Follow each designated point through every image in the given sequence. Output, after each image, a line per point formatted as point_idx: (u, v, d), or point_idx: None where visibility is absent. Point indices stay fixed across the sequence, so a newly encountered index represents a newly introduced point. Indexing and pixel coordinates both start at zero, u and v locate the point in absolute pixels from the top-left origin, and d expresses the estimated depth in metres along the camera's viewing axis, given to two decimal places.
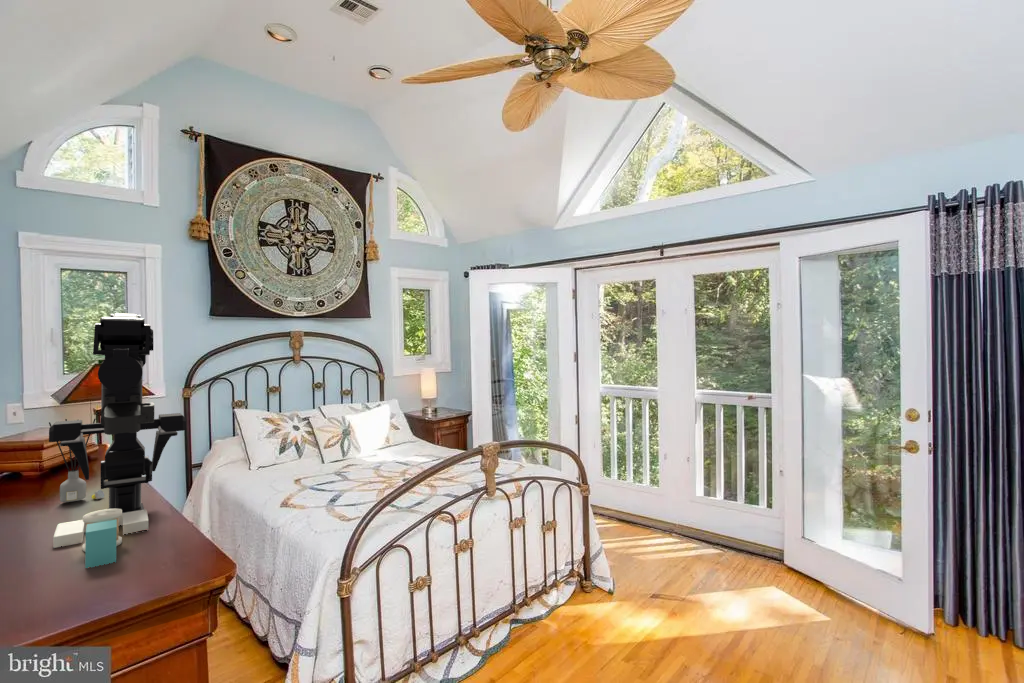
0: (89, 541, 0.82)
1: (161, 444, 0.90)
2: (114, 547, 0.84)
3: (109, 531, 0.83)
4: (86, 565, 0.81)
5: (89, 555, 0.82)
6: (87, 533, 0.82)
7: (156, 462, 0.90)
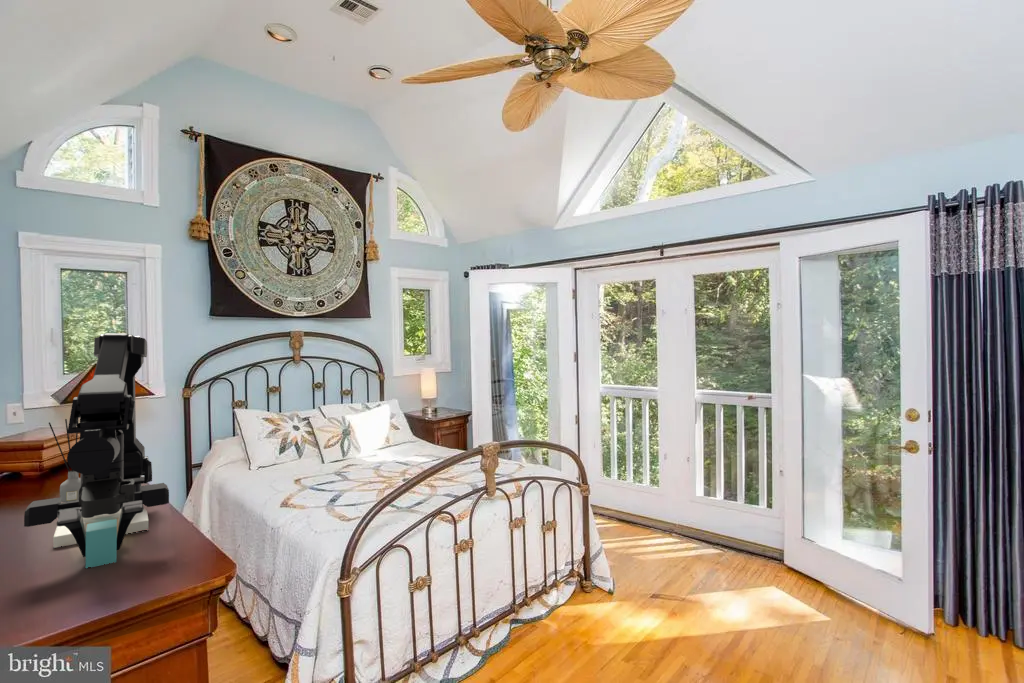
0: (90, 541, 0.82)
1: (125, 522, 0.86)
2: (114, 547, 0.84)
3: (110, 530, 0.83)
4: (86, 565, 0.82)
5: (89, 555, 0.82)
6: (87, 533, 0.82)
7: (120, 541, 0.86)
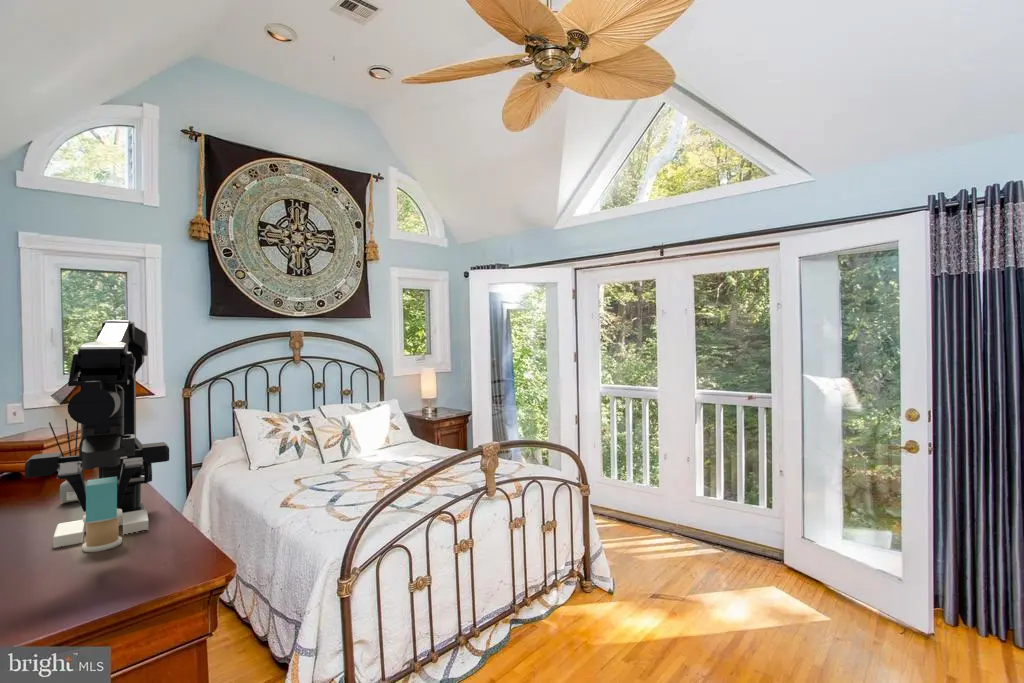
0: (90, 495, 0.82)
1: (126, 478, 0.86)
2: (115, 502, 0.84)
3: (110, 485, 0.83)
4: (87, 519, 0.82)
5: (90, 509, 0.82)
6: (88, 487, 0.82)
7: (121, 497, 0.86)
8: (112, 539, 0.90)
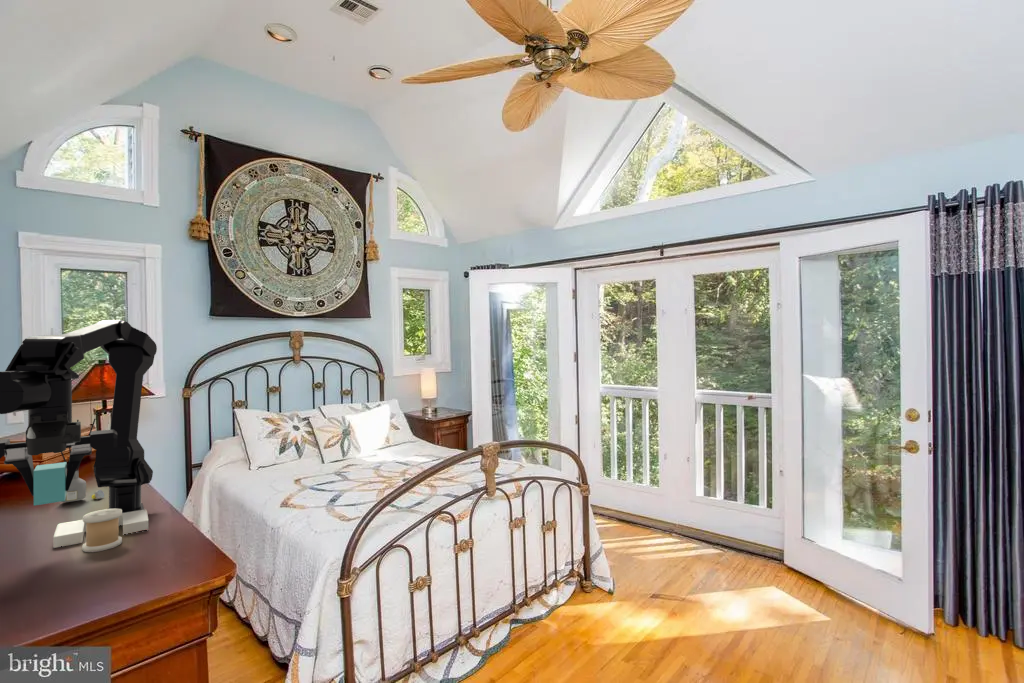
0: (37, 480, 0.85)
1: (74, 464, 0.89)
2: (62, 486, 0.87)
3: (58, 470, 0.87)
4: (34, 502, 0.85)
5: (37, 493, 0.85)
6: (35, 472, 0.85)
7: (69, 482, 0.89)
8: (112, 539, 0.90)
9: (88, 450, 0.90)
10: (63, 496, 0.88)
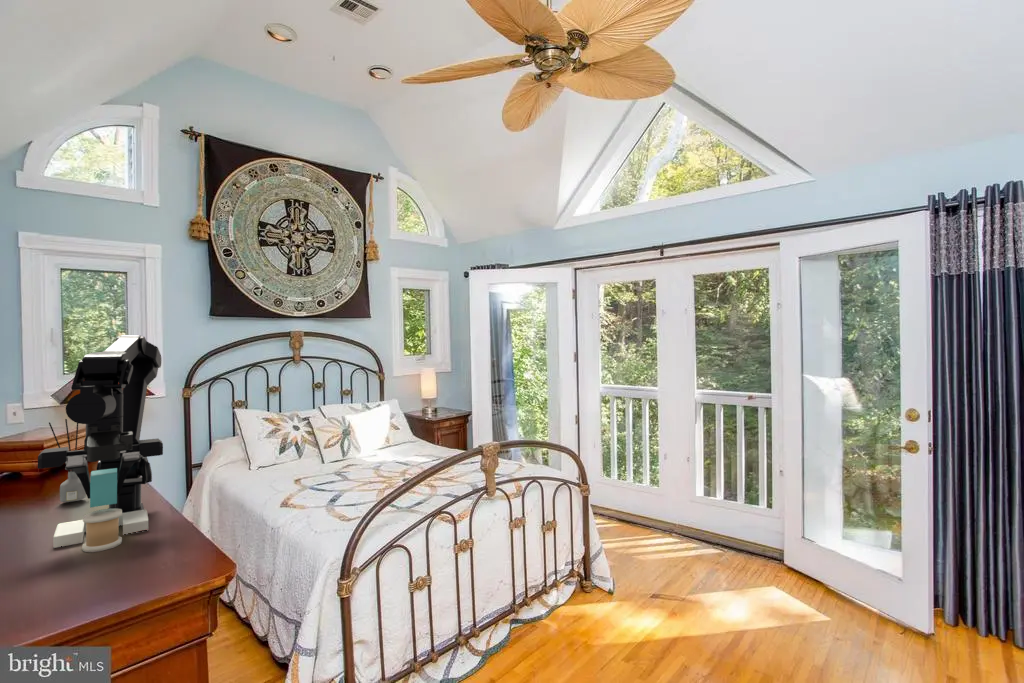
0: (94, 484, 0.94)
1: (125, 469, 0.98)
2: (115, 490, 0.96)
3: (111, 475, 0.96)
4: (91, 504, 0.94)
5: (93, 496, 0.94)
6: (92, 477, 0.94)
7: (120, 486, 0.98)
8: (112, 539, 0.90)
9: (137, 457, 0.99)
10: (115, 499, 0.96)
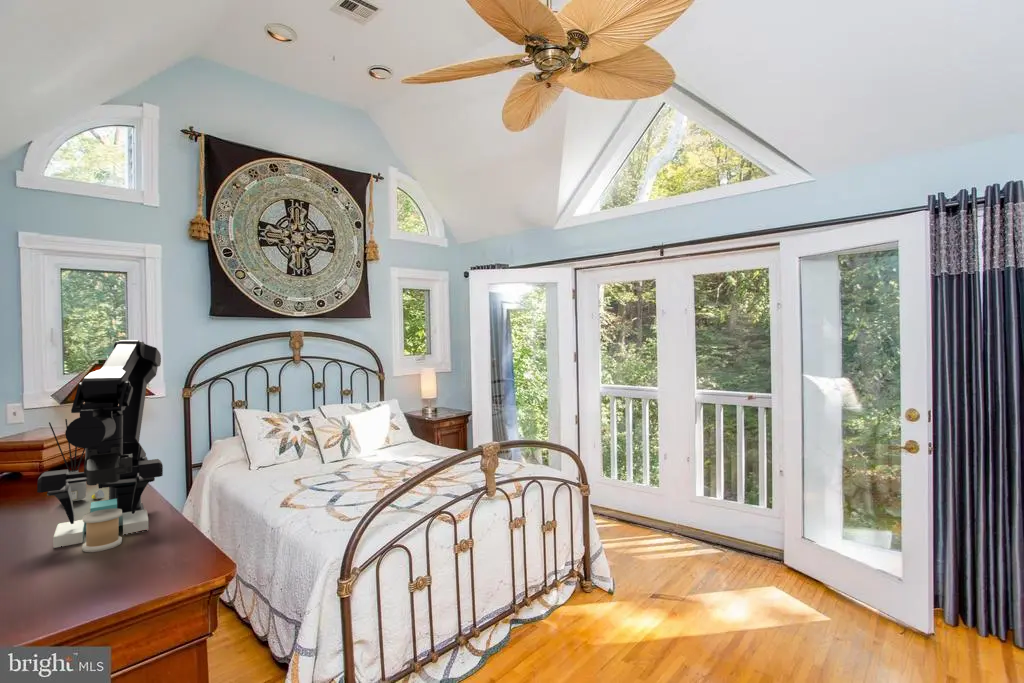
0: None
1: (140, 489, 1.00)
2: None
3: (111, 507, 0.96)
4: None
5: None
6: (91, 509, 0.94)
7: (135, 505, 1.00)
8: (112, 539, 0.90)
9: None
10: None
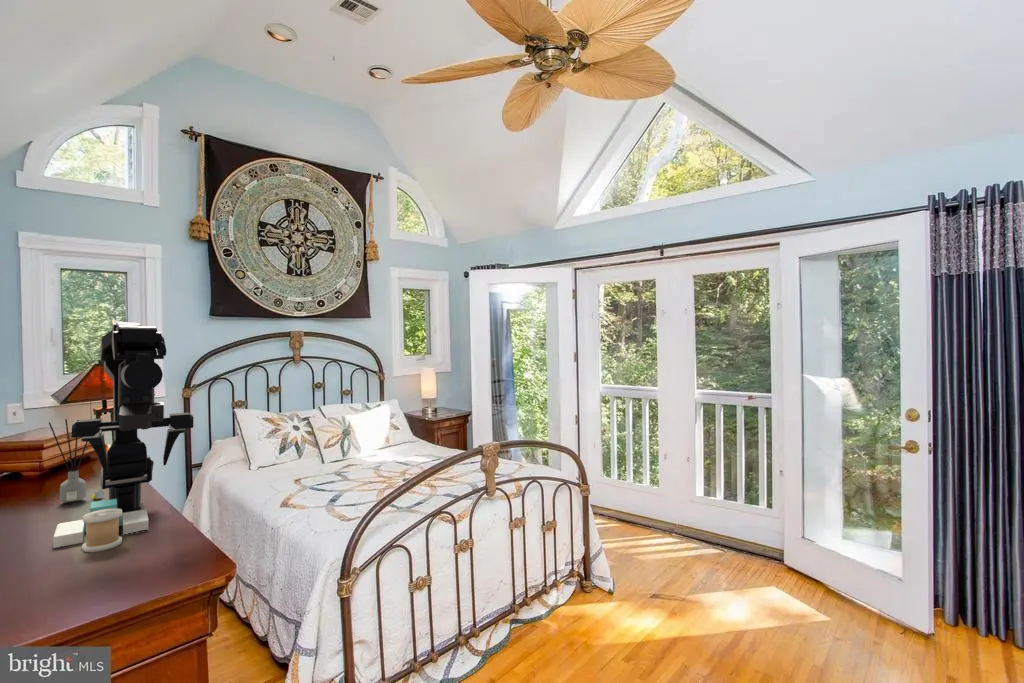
0: None
1: (171, 440, 0.99)
2: None
3: (111, 507, 0.96)
4: None
5: None
6: (91, 509, 0.94)
7: (167, 457, 0.99)
8: (112, 539, 0.90)
9: (183, 428, 1.00)
10: None
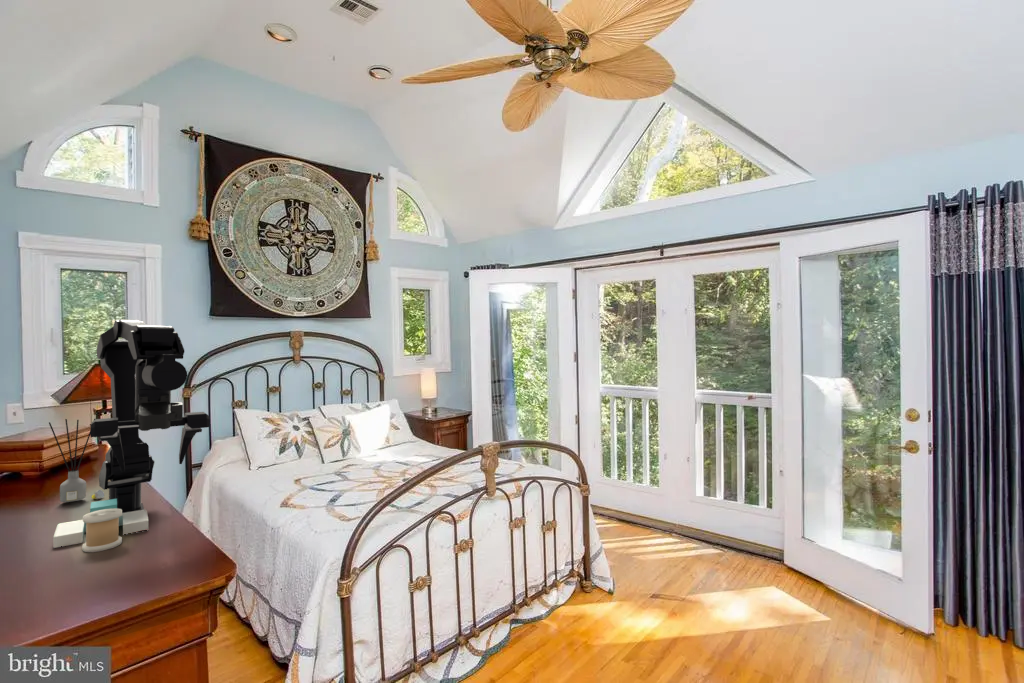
0: None
1: (187, 439, 1.00)
2: None
3: (111, 507, 0.96)
4: None
5: None
6: (91, 509, 0.94)
7: (183, 456, 1.00)
8: (112, 539, 0.90)
9: (199, 428, 1.01)
10: None
